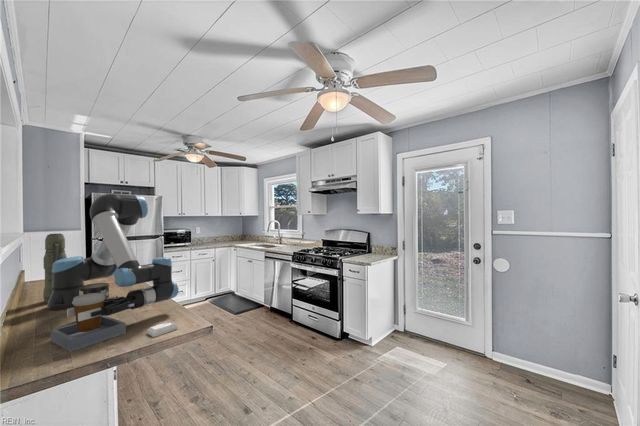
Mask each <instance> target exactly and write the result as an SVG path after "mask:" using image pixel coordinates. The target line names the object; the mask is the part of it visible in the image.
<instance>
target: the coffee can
mask: <svg viewBox="0 0 640 426" xmlns="http://www.w3.org/2000/svg"><path fill="white" fill-rule="evenodd" d="M90 293H103V294H104V296H105V299H109V298H110V283H108V282H96V283H90V284H84V286H81V287H79V296H80V295H84V294H90ZM102 316H107V315H102ZM107 317H109V316H107Z"/></svg>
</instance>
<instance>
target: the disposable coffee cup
mask: <svg viewBox="0 0 640 426" xmlns="http://www.w3.org/2000/svg"><path fill="white" fill-rule="evenodd" d="M104 300H105V296H104V294H103V293H90V294H84V295H80V296H77V297H75V298H74V299H73V301H72V303H73V305H74V310H75V315H74V316H75V319H76V320H75V323H77V328H78V332H88V331H93V330H96V329H98V328H99V327H100V324H101V317H102V315H101V316H97V317H93V318H90V319H86V320H82V321H78V313H81V312H85V311H89V310H93V309H97V308H101V310H102V306H103V303H104Z"/></svg>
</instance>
